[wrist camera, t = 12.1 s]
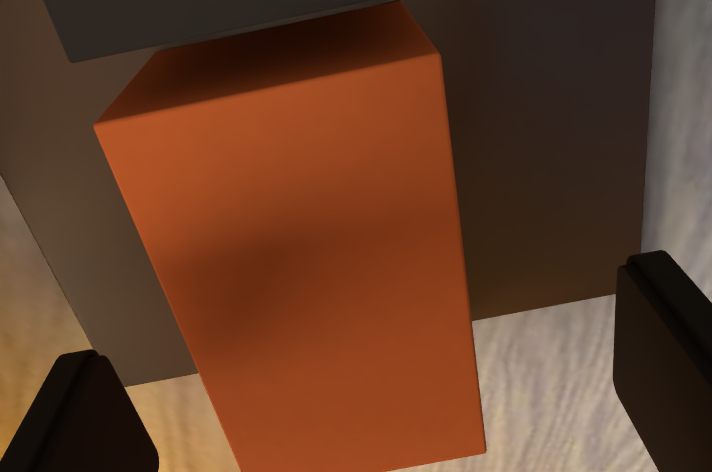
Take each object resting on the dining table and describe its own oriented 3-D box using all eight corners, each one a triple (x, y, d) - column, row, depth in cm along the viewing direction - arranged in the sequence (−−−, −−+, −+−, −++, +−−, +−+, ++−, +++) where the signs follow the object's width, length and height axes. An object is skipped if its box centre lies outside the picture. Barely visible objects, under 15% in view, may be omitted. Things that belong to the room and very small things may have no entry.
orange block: (401, -1, 14) (440, 52, 10) (448, 326, 20) (487, 454, 15) (153, 51, 15) (90, 124, 10) (263, 361, 20) (251, 497, 15)
